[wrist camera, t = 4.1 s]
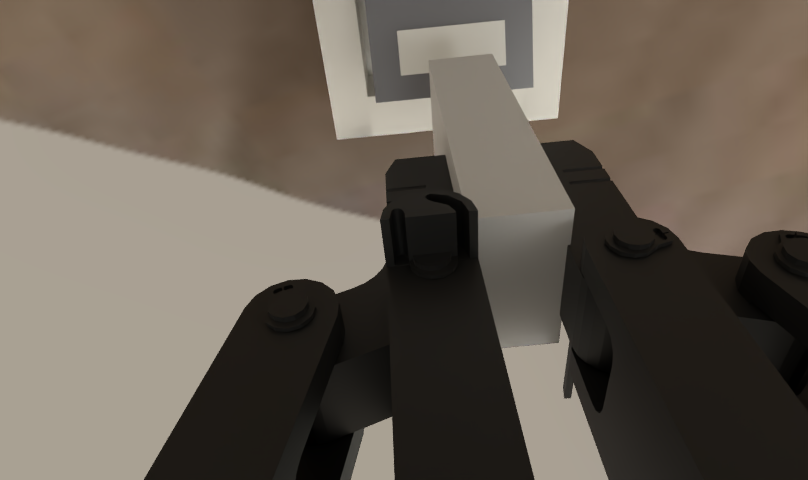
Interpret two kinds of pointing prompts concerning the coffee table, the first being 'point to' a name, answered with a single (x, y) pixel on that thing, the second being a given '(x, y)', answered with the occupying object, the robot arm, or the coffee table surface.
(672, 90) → the coffee table surface
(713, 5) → the coffee table surface
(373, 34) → the rocker
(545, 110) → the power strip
